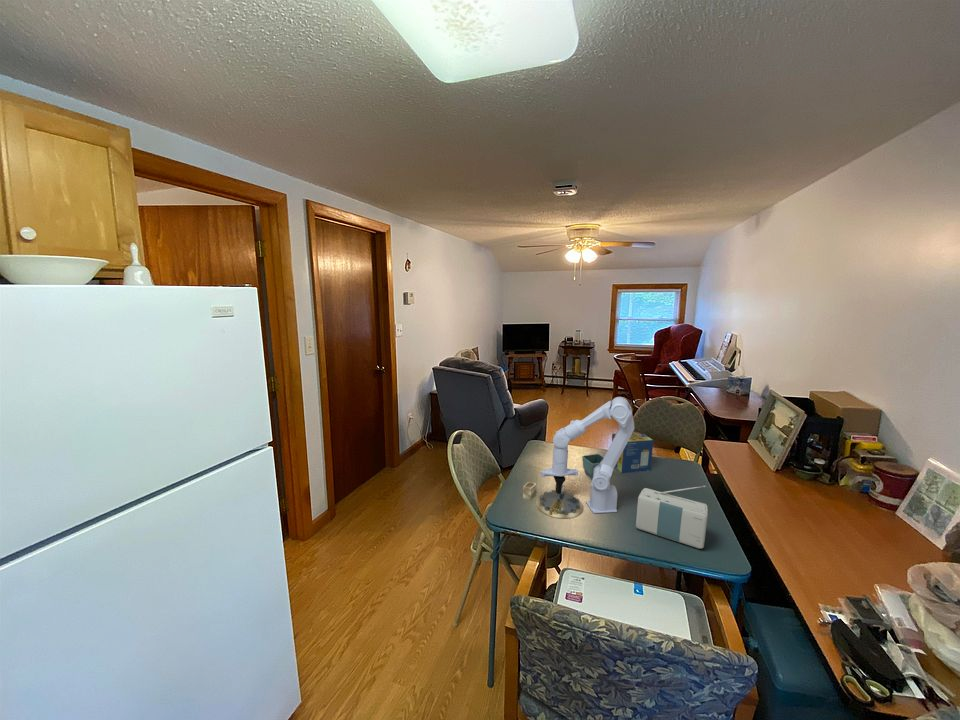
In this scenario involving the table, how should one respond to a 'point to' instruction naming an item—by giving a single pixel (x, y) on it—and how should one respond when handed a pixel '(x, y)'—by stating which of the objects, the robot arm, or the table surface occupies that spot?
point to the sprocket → (559, 502)
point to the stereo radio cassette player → (672, 517)
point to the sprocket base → (560, 516)
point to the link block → (529, 490)
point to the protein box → (635, 454)
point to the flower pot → (591, 463)
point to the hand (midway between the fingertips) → (558, 492)
